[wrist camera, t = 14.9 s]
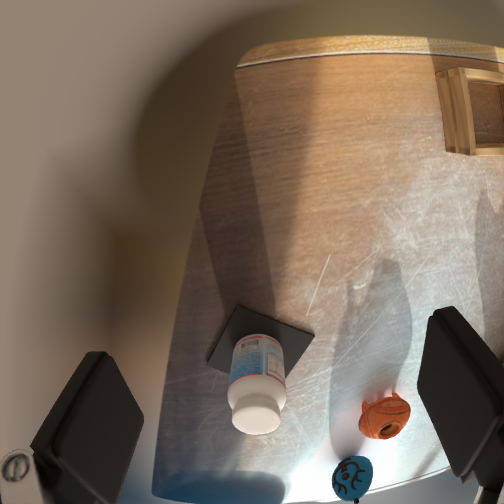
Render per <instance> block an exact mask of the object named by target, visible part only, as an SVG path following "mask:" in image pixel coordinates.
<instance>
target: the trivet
mask: <svg viewBox="0 0 504 504" xmlns="http://www.w3.org/2000/svg"><path fill="white" fill-rule="evenodd" d="M252 334H264V335H268V336H270V337H272V338H274V339H275V340H277V341H278V343H279V344H280V345H281V347H282V351H283V360H284V372H285V378H286V377H287V375H288V374H289V373H290V371H291V370H292V368H293V367H294V366H295V364H296V363H297V361H298V360H299V359H300V357H301V356H302V354H303V353H304V351H305V350H306V349H307V347H308V346H309V344H310V343H311V341H312V340H313V338H314V337H315V335H313V334H310V333H308V332H305V331H302V330H300V329H297V328H295V327H292V326H290V325H287V324H285V323H282V322H280V321H277V320H275V319H272V318H270V317H267V316H265V315H262V314H260V313H257V312H255V311H253V310H250V309H248V308H245V307H243V306H241V305H237V307H236V309H235V310H234V312H233V314H232V316H231V318H230V320H229V322H228V324H227V326H226V328H225V330H224V332H223V334H222V336H221V338H220V340H219V341H218V343H217V345H216V347H215V349H214V351H213V353H212V355H211V357H210V359H209V361H208V363H207V366H210V367H213V368H215V369H218V370H220V371H223V372H226V373H228V374H230V372H231V365H232V358H233V351H234V348H235V346H236V344H237V343H238V341H239V340H241V339H242V338H243V337H245V336H248V335H252Z"/></svg>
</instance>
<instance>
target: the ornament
mask: <svg viewBox="0 0 504 504" xmlns="http://www.w3.org/2000/svg"><path fill="white" fill-rule="evenodd" d="M372 477H373V467H372V464H371V462H370V460H369V459H368V458H366V457H364V456H354V457H351V458H347V459H344V460H343V461H341V462H340V463H339V464H338V466H337V468H336V469H335V471H334V473H333V475H332V488H333V489H334V491H335V493H336V495H337V496H338V497H339V498H340V499H342V500H344V501H354V503H355V504H358V503H359V499H360V498H361V497H362V496H363V495H364V494H365V493H366V492H367V491H368V489H369V487H370V485H371V482H372Z"/></svg>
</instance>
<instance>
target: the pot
mask: <svg viewBox="0 0 504 504" xmlns="http://www.w3.org/2000/svg"><path fill="white" fill-rule="evenodd" d="M410 412H411V409H410V405H409V404H408V403H407V402H406V401H405V400H403V399H401V398H400V397H399V395H398V394H397V393H392V397H387V398H382V399H379V400H377V401H375V402H374V403H372V404H371V405H368V404H367V403H366V402H365V401H363V402H362V415H361V417H360V420H359V424H358V426H359V430H360V431H361V433H362V434H364V435H365V436H367V437H369V438H373V439H389V438H391V437H394V436H396V435H397V434H398V433H399V432H400V431H401V429H402V428H403V427H404V426H405V425H406V423H407V421H408V419H409V417H410Z"/></svg>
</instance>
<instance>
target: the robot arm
mask: <svg viewBox="0 0 504 504" xmlns="http://www.w3.org/2000/svg"><path fill="white" fill-rule="evenodd" d="M417 389H418V393H419V395H420V397H421V399H422V402H423V404H424V406H425V408H426V410H427V412H428V415H429V417H430V419H431V421H432V423H433V426H434V428H435V430H436V432H437V435H438V437H439V439H440V442H441V444H442V446H443V449H444V451H445V453H446V456H447V458H448V461H449V463H450V466H451V468H452V471H453V473H454V475H455V476H456V477H459V476H460V477H461V480H462V483H466V482H468V481H470V480H472V479H475V478H477V480H478V482H479V485H480V488H479V490H478V493H477V495H476V498H475V501H474V503H473V504H504V366H503V365H502V364H501V362H500V361H499V360H498V358H497V357H496V356H495V355H494V353H493V352H492V351H491V350H490V348H489V347H488V346H487V345H486V343H485V342H484V341H483V340H482V338H481V337H480V336H479V335H478V334H477V332H476V331H475V330H474V329H473V328H472V326H471V325H470V324H469V323H468V322H467V321H466V319H465V318H464V317H463V316H462V315H461V314H460V312H459V311H458V310H457V309H456V308H455V307H454V306H449V307H445V308H441V309H437V310H435V311H434V312H433V316H430V317H429V319H428V324H427V331H426V338H425V344H424V350H423V355H422V361H421V366H420V371H419V376H418V381H417ZM143 423H144V416H143V413H142V411H141V410H140V408H139V406H138V404H137V402H136V401H135V399H134V397H133V395H132V393H131V391H130V390H129V388H128V386H127V384H126V382H125V380H124V378H123V376H122V374H121V373H120V371H119V369H118V367H117V365H116V363H115V361H114V359H113V358H112V357H111V356H109V355H108V354H107V353H106V352H104V351H100V352H99V351H98V352H88V353H87V354H86V355H85V357H84V358H83V360H82V361H81V363H80V364H79V366H78V367H77V369H76V371H75V372H74V374H73V375H72V377H71V378H70V380H69V381H68V383H67V385H66V386H65V388H64V389H63V391H62V393H61V394H60V396H59V397H58V399H57V401H56V402H55V404H54V405H53V407H52V409H51V410H50V412H49V414H48V416H47V417H46V419H45V420H44V422H43V424H42V426H41V427H40V429H39V431H38V432H37V434H36V436H35V438H34V440H33V441H32V443H31V445H30V447H31V448H32V449H33V451H34V454H33V455H31V454H30V452H28V451H27V450H24V449H16V450H13V451H11V452H9V453H7V454H6V455H5V456H4V457H3V459H2V460H1V462H0V504H117V502H118V499H119V496H120V493H121V490H122V487H123V483H124V480H125V477H126V474H127V471H128V468H129V465H130V462H131V459H132V456H133V453H134V450H135V447H136V444H137V441H138V438H139V435H140V432H141V430H142V426H143Z"/></svg>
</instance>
